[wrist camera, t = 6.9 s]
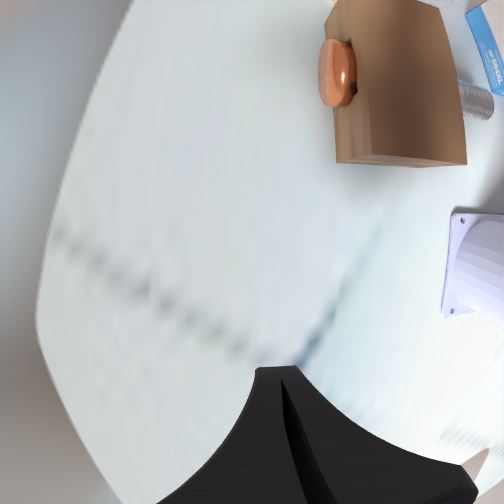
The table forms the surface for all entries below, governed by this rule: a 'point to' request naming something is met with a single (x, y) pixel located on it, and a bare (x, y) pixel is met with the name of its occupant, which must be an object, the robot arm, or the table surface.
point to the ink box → (490, 40)
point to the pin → (345, 87)
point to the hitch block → (398, 86)
